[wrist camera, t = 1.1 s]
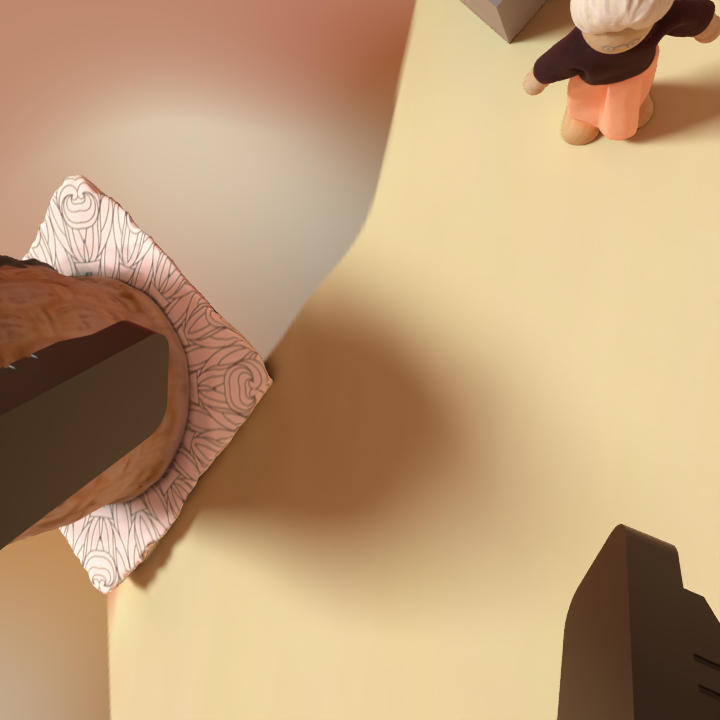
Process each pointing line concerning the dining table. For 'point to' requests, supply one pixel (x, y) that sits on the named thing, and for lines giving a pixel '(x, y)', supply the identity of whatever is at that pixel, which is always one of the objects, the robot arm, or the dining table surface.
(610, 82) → the grandmother figurine
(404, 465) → the dining table surface
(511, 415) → the dining table surface
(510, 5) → the tray
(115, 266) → the cookie jar
